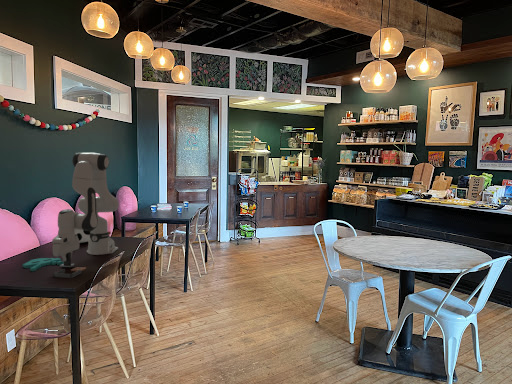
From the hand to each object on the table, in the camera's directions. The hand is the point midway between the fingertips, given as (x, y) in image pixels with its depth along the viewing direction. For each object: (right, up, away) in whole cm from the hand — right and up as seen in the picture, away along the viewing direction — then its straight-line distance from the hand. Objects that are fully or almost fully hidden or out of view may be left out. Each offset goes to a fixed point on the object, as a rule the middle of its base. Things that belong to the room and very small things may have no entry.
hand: (67, 260), depth 224 cm
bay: (+8, -6, -14) cm, 17 cm away
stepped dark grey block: (0, -4, 0) cm, 4 cm away
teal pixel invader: (-17, -4, +5) cm, 18 cm away
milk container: (-23, +1, +66) cm, 70 cm away
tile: (+9, -6, -4) cm, 11 cm away
